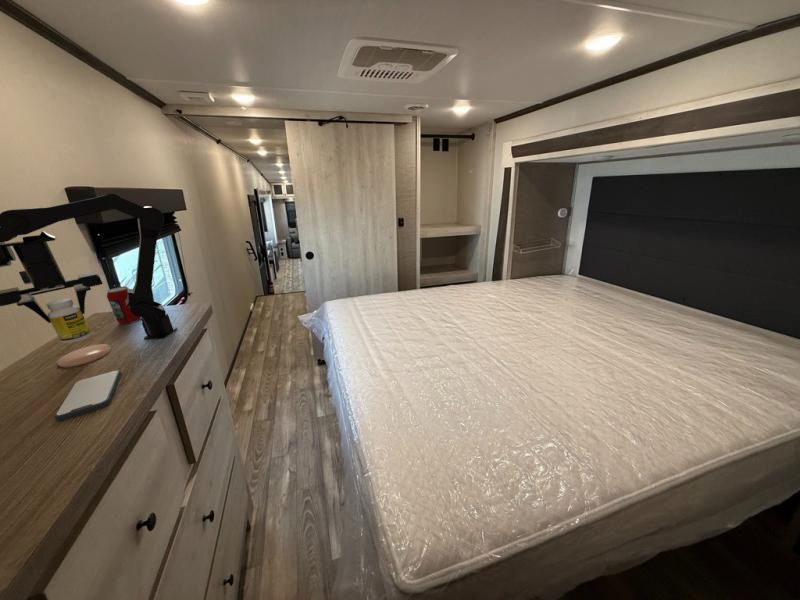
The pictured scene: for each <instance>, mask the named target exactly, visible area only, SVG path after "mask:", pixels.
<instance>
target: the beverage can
mask: <svg viewBox="0 0 800 600" xmlns="http://www.w3.org/2000/svg"><path fill="white" fill-rule="evenodd" d="M127 288H128V286H118V287H117V286H116V287H114V288H111V289H108V290H106V291H107V293H106V298H107V301H108V303H109V305H110V308H111V311H112V312H113V315H114V317H115V319H116V321H117V323H118V324H122V325H128V323H129V324H132V322H133V323H135V321H136V322H138V321H139V320H141V319H142V317H137V316H135V315H133V314H132V313H131V312H130V309H129V306H128V307H127V306H126V301H125V300H126V299H127V296H128V294H127ZM128 289H130V288H128Z"/></svg>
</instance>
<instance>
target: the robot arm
mask: <svg viewBox="0 0 800 600" xmlns="http://www.w3.org/2000/svg"><path fill="white" fill-rule="evenodd" d="M111 210H115V211H119V212H121V213H123V214H125V215H128V216H130V217H133V218H135V219H137V226H138V231H139V232H138V233H139V244H138V245H139V246H138V256H137V265H136V266H137V267H136V273H135V274H136V276H135V283H134V285H133V287H132V288H129V289H128V288H127V294H128V296H127V299H126V300H125V301H126V306H127V307H128V306H129V309H130V312H131V313H132V314H133V315H135V316H137V317H141V318H140V320H141V325H142V327H143V330H144V333H145V336H144V337H143V339H144V340H155V339H165V338H166V337H168V336H169V335H170V334H172V333H175V331H177V330H178V327H173V325H172V322H171V319H170V317H169V314H168V313H166V309H165V307H164V306H163V304H162V303H161V302H157V301H155V298H154V293H153V278H154V268H155V258H156V249H157V241H158V238H159V236H160V235H161V232H162V230H163V226H164V224H165V223H164V222H165V215H164V214H163V212H162V211H161V210H160V209H158V208H157V207H153V206H142V205H139V204H137V203H135V202H132V201H130V200H127V199H125V198H122V197H121V196H120V195H117V194H116V193H107V194H104V195H102V196H97V197H93V198H87V199H83V200H78V201H77V200H76V201H73V202H68V203H64V204H58V205H54V206H46V207H43V206H42V207H31V208H30V207H28V208H26V207H25V208H14V209H9V210H5V211H2V212H0V268H3V267H10V266H12V262H14V261H17V259H16V256H17V258H18V259H19V261H20V264H21V265H22V267H23V269H24V270H22V271H18V273H19V275H20V276H19V277H20V278H21V281H22V282H23V284H24V285H32V286H33V287H29V288H26V289H20V288H19V287H18V286H15V287H11V288H6V289H1V290H0V307H4V306H9V305H13V304H16V306H17V307H21V306H24V307H26V308H28V309H29V310H31V311H32V312H34V313H35V314H37V315H38V316H39V317H40V318H42V319H43V320H45V321H46V322H47V323H49V324H52V323H51V321H50V319H49V317H48V313H46V311H45V310H44V308H43V307H42V306H41V305H40V304H39V302H38V301H37V300H36V297H35V296H37V295H40V294H41V295H42V294H46V293H52V292H56V291H60V290H65V289H70V288H73V289H74V293H75V296H76V300H77V303H78V307H79V308H80V310H81V312H82V314H83V315H85V311H86V310H85V308H86V307H85V306H86V304H85V302H86V301H85V300H86V296H87V292H88V291H91V290H92V287H97V286H100V285H103V284H104V283H103V281H102V279H101V277H100V275H99V274H98V273H97V272H96V273H95V271H94V272H93V271H92V272H88V273H84V274H79V275H78V274H77V275H76V276H77V278H73V279H70V280H66V279H65V277H64V275H63V273H62V271H61V269H60V267H59V264H58V263H57V262H58V261H56V258H55V256H54V254H53V252H52V250H51V248H50V246H49V244H48V242H53V241H56V239H57V237H56V236H54V235H52V234H50V233H48V232H46V231H44V230H42V231H41V233H39V234H37V235H29V234H31V233H34V232H36V231H38V230H41V229H44V228H46V227H48V226H51V225H54V224H55V223H59V222H64V221H66V220H67V221H68V220H72V219H76V218H81V217H84V216H88V215H93V214H97V213H101V212H107V211H111ZM24 235H29V236H24ZM18 236H23V237H22V240H21V241H15V242H13V241H12V240H14V239H16V238H17V237H18ZM10 241H12V242H10ZM12 248H13V250H14V251H15V253H14V251H13V250H12ZM15 254H16V255H15Z"/></svg>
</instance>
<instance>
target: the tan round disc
mask: <svg viewBox="0 0 800 600" xmlns="http://www.w3.org/2000/svg"><path fill="white" fill-rule="evenodd" d="M111 351H112V347H111V345H109V344H106V343H102V344H99V343H98V344H93V345H90V346H89V345H88V346H86V347H82V348H79V349H75V350H74V351H71V352H68V353H66V354H65V355H63V356H61V357H60V358H59V359H58V360H57V361H56V363H57V365H58V367H60V368H73V367H78V366H82V364H83V365H85V364H88V363H92V362H94V361H97V360H98V358H99V359H100V358H101V359H102V358H103V357H104V356H106V355H108V354H109V353H110V352H111ZM96 359H97V360H96Z"/></svg>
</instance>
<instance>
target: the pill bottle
mask: <svg viewBox="0 0 800 600" xmlns="http://www.w3.org/2000/svg"><path fill="white" fill-rule="evenodd" d="M46 307H47V309H48V310H50V311H49V312H48V313H47V315H48V317H49V319H50V321H51V323H50V324H51V326H52V327H53V329H54V331H55V333H56V334H57V337H58V339H59V340H60V343H62V344H72V343H76V342H80V341H82V340H85V339H87V338H89V337H90V336H91V335H92V331H91V329H90V327H89V325H88V322H87V321H86V318H85V316H84V314H82V312H81V310H80V307H79V306H77V305H74V301H73V299H72V298H68V297H67V298H60V299H56V300H53V301H50V302H48V303H46Z"/></svg>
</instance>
